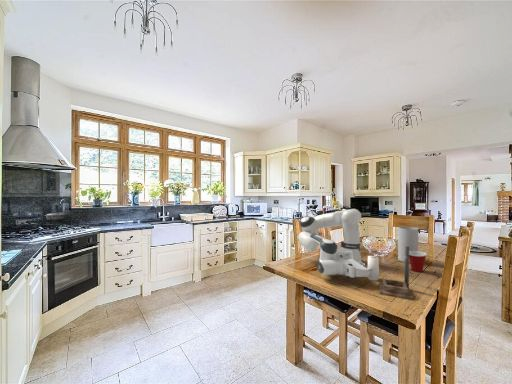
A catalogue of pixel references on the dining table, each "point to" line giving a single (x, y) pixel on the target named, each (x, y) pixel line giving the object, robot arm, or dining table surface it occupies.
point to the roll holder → (398, 283)
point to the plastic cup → (417, 260)
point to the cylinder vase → (407, 241)
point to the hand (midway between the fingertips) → (368, 266)
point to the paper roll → (374, 264)
